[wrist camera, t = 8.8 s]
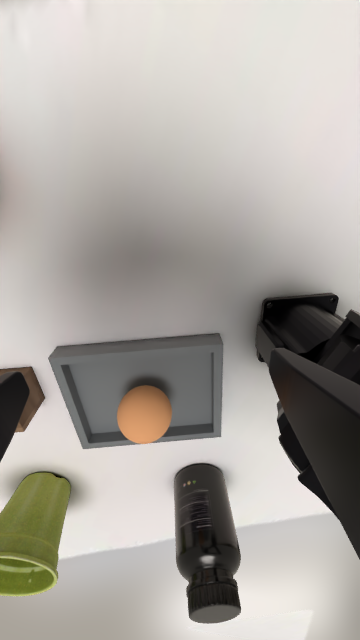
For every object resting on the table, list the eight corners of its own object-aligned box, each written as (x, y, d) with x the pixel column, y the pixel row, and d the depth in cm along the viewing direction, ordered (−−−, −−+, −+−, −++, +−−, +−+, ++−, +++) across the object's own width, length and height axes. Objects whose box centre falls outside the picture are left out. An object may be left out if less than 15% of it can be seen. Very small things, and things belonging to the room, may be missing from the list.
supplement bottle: (231, 481, 33) (263, 616, 22) (188, 497, 34) (198, 632, 23) (210, 455, 30) (235, 595, 19) (164, 473, 31) (163, 614, 21)
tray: (218, 333, 22) (223, 343, 20) (217, 423, 27) (220, 436, 26) (56, 346, 22) (48, 358, 20) (88, 434, 27) (83, 449, 26)
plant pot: (26, 508, 33) (-16, 601, 26) (-6, 468, 29) (-68, 565, 21) (92, 499, 33) (69, 590, 25) (70, 458, 29) (34, 552, 21)
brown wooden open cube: (31, 366, 23) (6, 397, 19) (44, 397, 24) (24, 431, 21) (-11, 370, 23) (-45, 402, 19) (5, 401, 24) (-22, 435, 21)
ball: (168, 371, 23) (170, 412, 19) (172, 408, 25) (175, 453, 21) (117, 376, 23) (106, 419, 18) (125, 413, 25) (118, 459, 21)
